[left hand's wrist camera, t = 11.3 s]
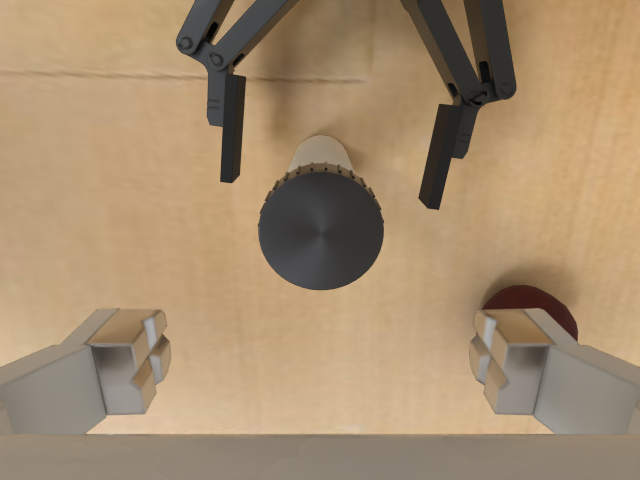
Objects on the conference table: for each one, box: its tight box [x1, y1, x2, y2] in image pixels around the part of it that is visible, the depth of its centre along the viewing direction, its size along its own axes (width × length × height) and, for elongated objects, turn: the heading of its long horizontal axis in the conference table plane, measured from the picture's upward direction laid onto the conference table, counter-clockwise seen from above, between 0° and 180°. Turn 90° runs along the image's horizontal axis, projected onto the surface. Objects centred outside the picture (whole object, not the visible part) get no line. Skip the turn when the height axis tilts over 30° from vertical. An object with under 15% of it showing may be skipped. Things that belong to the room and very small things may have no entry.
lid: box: [258, 162, 384, 290], centre depth 18 cm, size 5×5×2 cm
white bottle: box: [287, 135, 355, 174], centre depth 26 cm, size 5×5×17 cm
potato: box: [476, 285, 578, 342], centre depth 35 cm, size 7×8×7 cm
